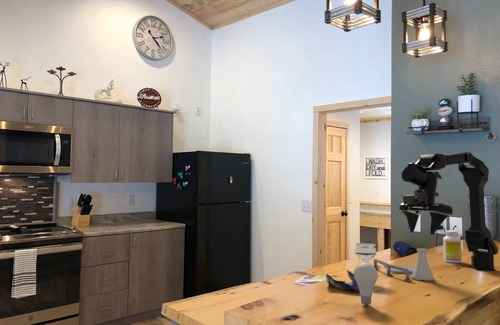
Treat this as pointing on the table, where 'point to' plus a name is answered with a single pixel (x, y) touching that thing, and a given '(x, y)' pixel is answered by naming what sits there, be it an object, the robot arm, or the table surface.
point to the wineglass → (365, 251)
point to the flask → (422, 267)
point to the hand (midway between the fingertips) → (421, 233)
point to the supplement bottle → (452, 247)
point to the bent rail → (392, 267)
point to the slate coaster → (410, 268)
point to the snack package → (343, 282)
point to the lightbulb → (365, 281)
